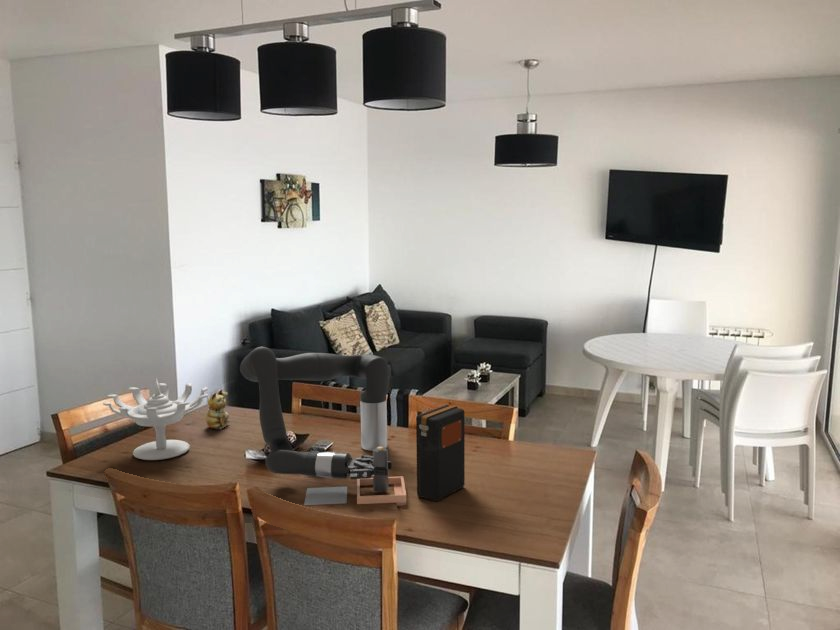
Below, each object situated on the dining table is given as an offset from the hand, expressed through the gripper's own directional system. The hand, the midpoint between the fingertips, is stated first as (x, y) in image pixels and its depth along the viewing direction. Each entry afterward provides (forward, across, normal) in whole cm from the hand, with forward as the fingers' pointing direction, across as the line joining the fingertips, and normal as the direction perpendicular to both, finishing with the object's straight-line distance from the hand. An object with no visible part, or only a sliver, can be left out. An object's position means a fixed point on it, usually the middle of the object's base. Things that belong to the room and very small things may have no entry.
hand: (389, 468), depth 199 cm
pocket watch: (-28, +12, +9) cm, 31 cm away
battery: (-3, 0, +7) cm, 7 cm away
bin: (-3, 0, +9) cm, 9 cm away
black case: (+14, +6, +9) cm, 18 cm away
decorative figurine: (-82, +54, +9) cm, 98 cm away
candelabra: (-88, +25, +9) cm, 91 cm away
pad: (-18, -4, +9) cm, 21 cm away
